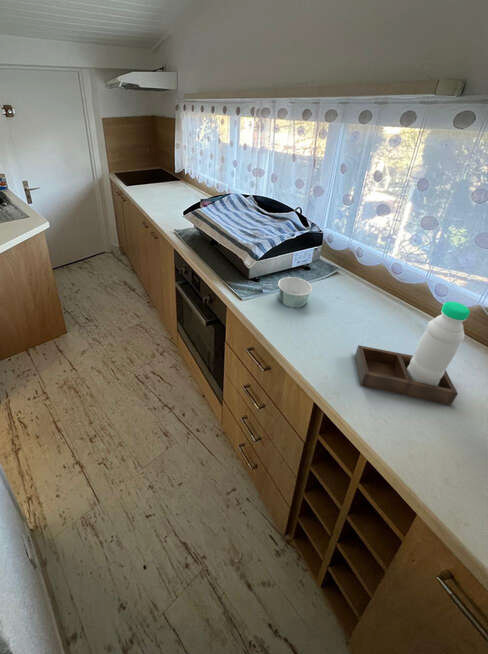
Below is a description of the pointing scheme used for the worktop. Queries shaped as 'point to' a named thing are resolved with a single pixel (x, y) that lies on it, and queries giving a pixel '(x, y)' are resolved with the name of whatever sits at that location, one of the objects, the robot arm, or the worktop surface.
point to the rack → (398, 376)
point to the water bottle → (438, 344)
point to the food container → (294, 291)
